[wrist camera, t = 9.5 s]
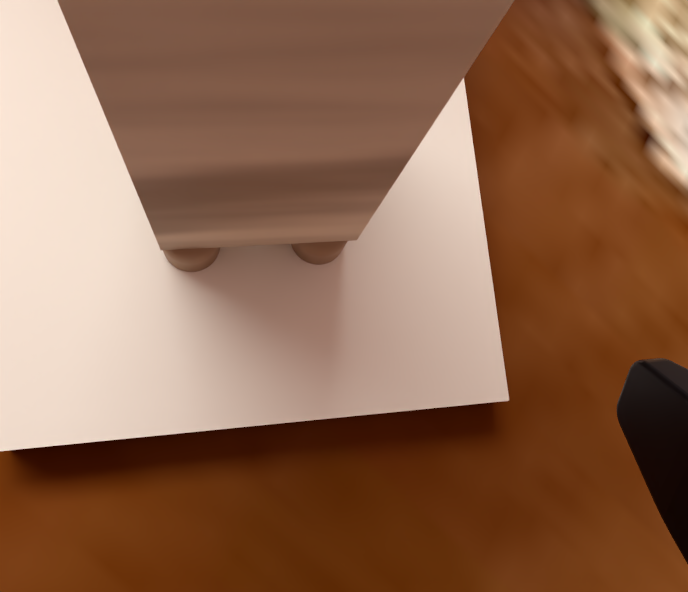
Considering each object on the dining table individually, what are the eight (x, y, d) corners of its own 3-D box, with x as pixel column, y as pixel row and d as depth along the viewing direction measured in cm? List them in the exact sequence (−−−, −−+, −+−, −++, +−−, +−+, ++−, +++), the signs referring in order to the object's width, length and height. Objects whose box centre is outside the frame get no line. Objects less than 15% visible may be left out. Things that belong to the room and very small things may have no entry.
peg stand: (9, 450, 18) (-38, 455, 15) (6, -10, 20) (-34, -89, 17) (493, 402, 20) (540, 397, 17) (438, -3, 23) (470, -71, 20)
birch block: (356, 240, 17) (552, -60, 7) (160, 250, 16) (25, -78, 6) (338, 66, 18) (485, -444, 8) (151, 67, 17) (21, -510, 7)
